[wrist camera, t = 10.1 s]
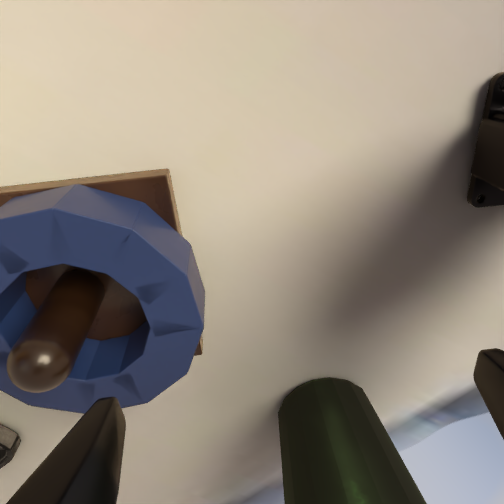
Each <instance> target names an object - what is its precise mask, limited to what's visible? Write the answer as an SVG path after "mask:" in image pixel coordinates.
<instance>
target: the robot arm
mask: <svg viewBox="0 0 504 504" xmlns="http://www.w3.org/2000/svg"><path fill="white" fill-rule="evenodd" d="M503 80H504V72H501V73H498V74H496V75H495V76H494V77H493V78H492V79H491V81H490V84H489V87H488V92H487V98H486V103H485V108H484V113H483V118H482V122H481V124H480V127H479V132H478V138H477V143H476V148H475V153H474V158H473V164H472V169H471V173H472V175H471V180H470V185H469V191H468V196H467V201H468V203H469V204H471V205H473V206H474V207H478V208H480V207H488V206H497V205H504V86H503V87H502V88H501V89H500V83H501V82H502V81H503ZM479 195H481V197H480V198H479V199H478V200H476V198H477V197H478V196H479ZM474 381H475V384H476V386H477V388H478V390H479V392H480V394H481V396H482V398H483V400H484V402H485V404H486V406H487V408H488V410H489V412H490V414H491V416H492V418H493V420H494V422H495V423H496V426H497V428H498V430H499V432H500V434H501V435H502V437H503V439H504V351H503V350H500V349H497V348H494V349H486V350H481V351H480V352H479V354H478V358H477V362H476V365H475V369H474ZM125 430H126V421H125V417H124V414H123V412H122V409H121V407H120V404H119V401H118V399H117V398H116V397H105V398H100V399H98V400H97V401H96V402H95V403H94V404H93V405H92V406H91V407H90V408H89V410H88V411H87V412H86V413H85V414H84V415H83V416H82V418H81V419H80V420H79V421H78V422H77V423H76V424H75V426H74V427H73V428H72V429H71V430H70V431H69V432H68V434H67V435H66V436H65V437H64V438H63V439H62V440H61V442H60V443H59V444H58V445H57V446H56V447H55V448H54V450H53V451H52V452H51V453H50V454H49V455H48V456H47V458H46V459H45V460H44V461H43V462H42V463H41V464H40V466H39V467H38V468H37V469H36V470H35V471H34V472H33V474H32V475H31V476H30V477H29V478H28V479H27V480H26V482H25V483H24V484H23V485H22V486H21V487H20V488H19V490H18V491H17V492H16V493H15V494H14V495H13V496H12V498H11V499H10V500H9V501H8V502H7V503H6V504H116V501H117V496H118V490H119V483H120V474H121V465H122V456H123V448H124V439H125Z"/></svg>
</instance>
